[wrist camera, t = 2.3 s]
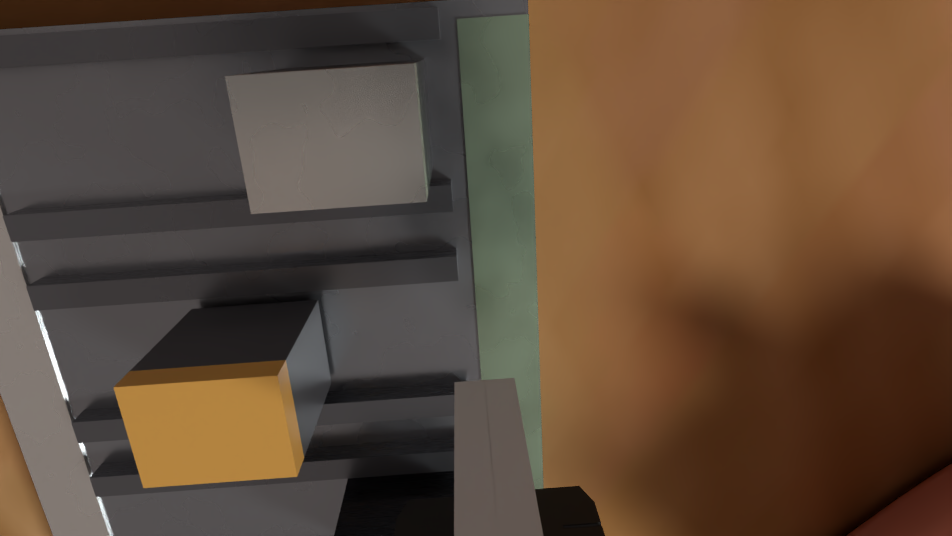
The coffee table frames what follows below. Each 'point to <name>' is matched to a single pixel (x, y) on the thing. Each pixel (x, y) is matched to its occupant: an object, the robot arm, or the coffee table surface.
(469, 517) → the robot arm
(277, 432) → the breaker
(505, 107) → the panel
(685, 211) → the coffee table surface
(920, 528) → the teapot
